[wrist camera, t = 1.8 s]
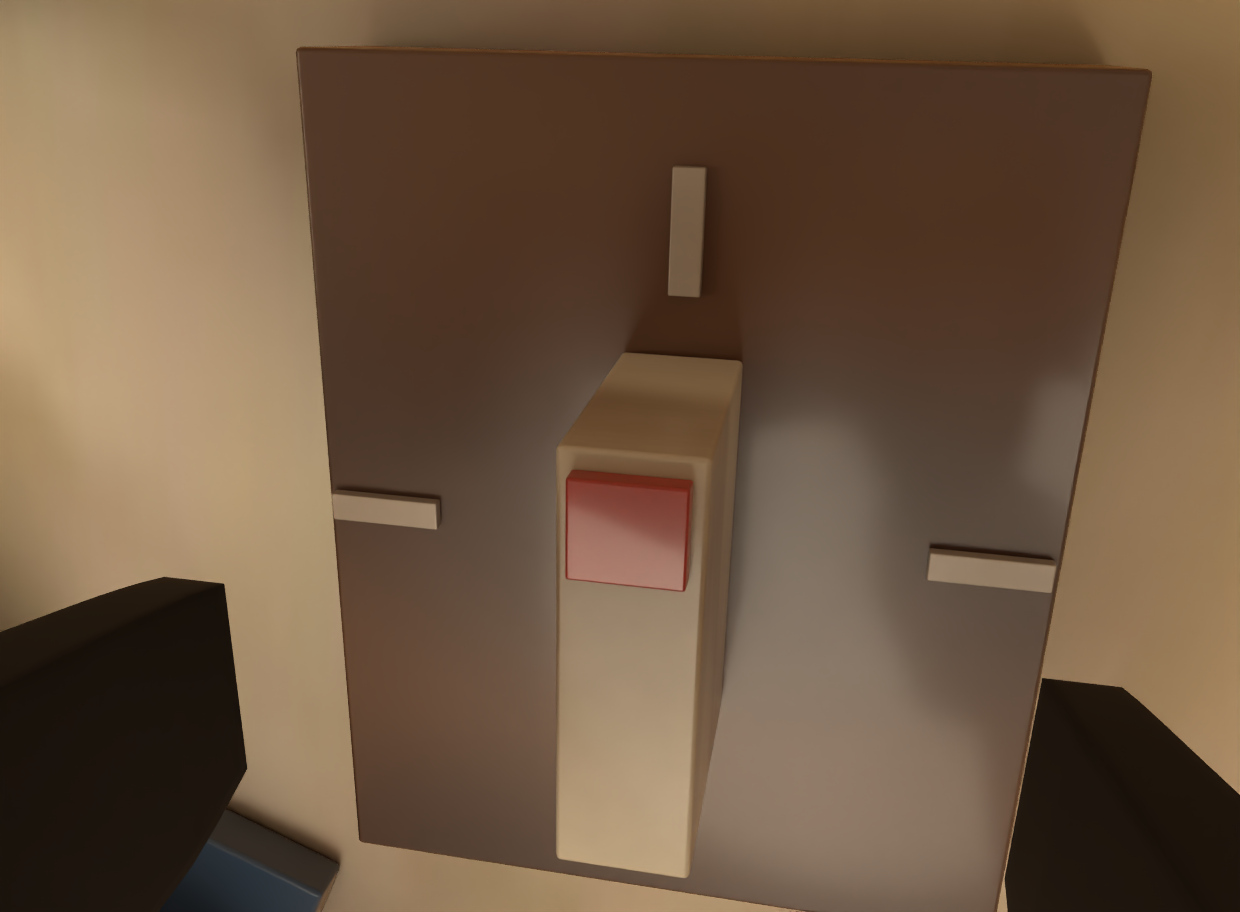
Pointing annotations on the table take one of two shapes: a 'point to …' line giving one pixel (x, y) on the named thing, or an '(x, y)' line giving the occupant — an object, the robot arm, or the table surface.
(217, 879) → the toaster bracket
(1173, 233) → the table surface
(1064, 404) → the block
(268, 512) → the table surface
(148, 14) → the table surface
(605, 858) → the beige slab
